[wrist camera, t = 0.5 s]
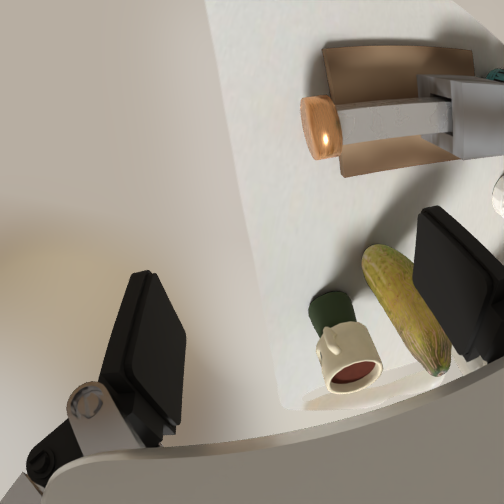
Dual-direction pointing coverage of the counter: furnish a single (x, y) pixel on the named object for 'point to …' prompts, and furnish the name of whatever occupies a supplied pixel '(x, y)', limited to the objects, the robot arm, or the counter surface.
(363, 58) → the board
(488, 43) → the counter surface
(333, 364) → the character mug
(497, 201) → the white cup
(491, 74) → the beverage bottle
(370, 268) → the vegetable
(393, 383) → the counter surface
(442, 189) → the counter surface
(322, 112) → the shaft
